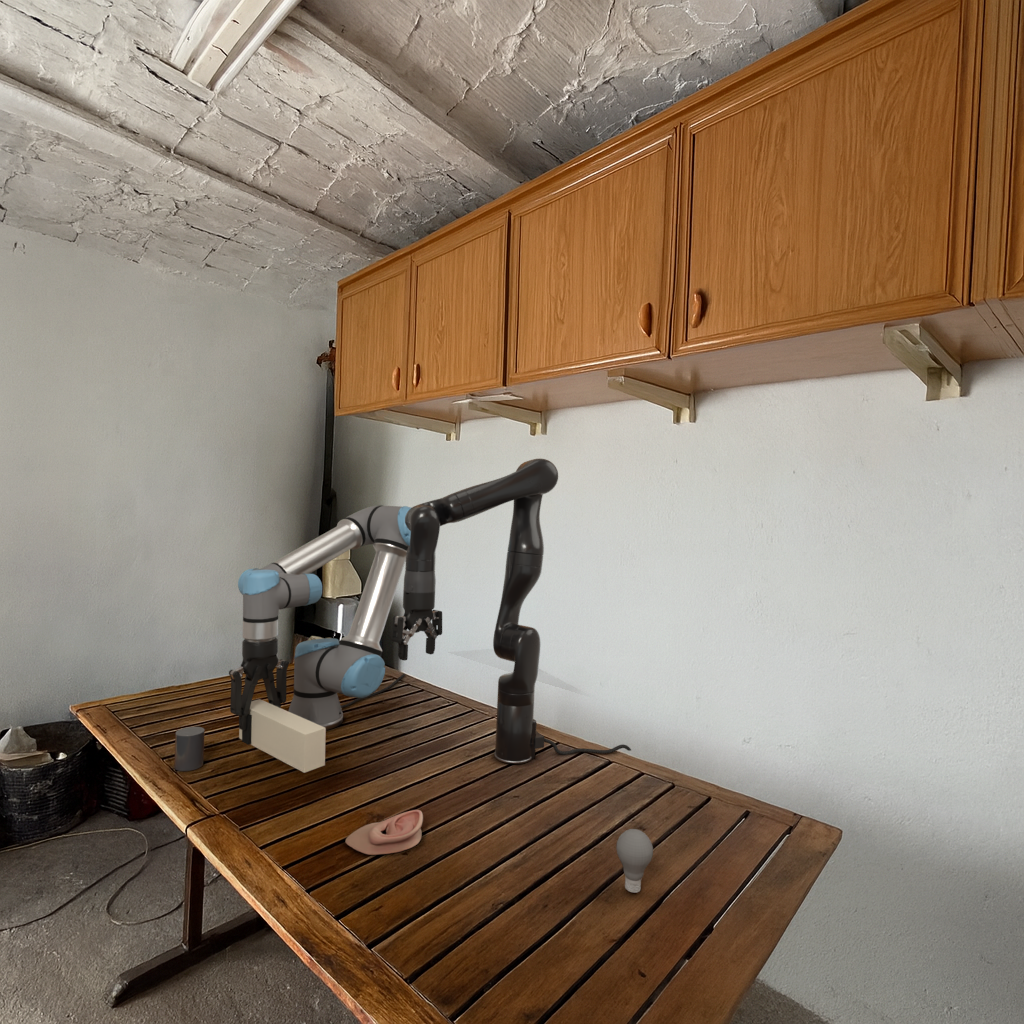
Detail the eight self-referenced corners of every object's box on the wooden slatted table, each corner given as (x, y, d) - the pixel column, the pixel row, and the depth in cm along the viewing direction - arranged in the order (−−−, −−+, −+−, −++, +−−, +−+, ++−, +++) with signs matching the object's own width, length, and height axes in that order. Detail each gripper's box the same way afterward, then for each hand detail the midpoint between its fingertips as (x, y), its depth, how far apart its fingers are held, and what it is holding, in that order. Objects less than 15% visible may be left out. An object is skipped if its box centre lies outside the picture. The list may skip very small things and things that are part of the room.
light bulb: (610, 879, 108) (613, 822, 108) (644, 879, 109) (647, 822, 109) (619, 902, 102) (622, 840, 102) (655, 901, 103) (658, 840, 103)
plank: (239, 738, 146) (239, 704, 145) (259, 732, 150) (259, 698, 149) (304, 773, 129) (304, 734, 129) (325, 765, 133) (325, 727, 133)
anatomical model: (338, 827, 114) (365, 799, 125) (337, 849, 114) (364, 818, 125) (408, 839, 111) (429, 808, 122) (407, 861, 111) (428, 828, 122)
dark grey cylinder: (196, 758, 150) (197, 724, 150) (208, 765, 146) (209, 731, 146) (169, 765, 145) (170, 731, 145) (181, 773, 142) (182, 738, 142)
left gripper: (286, 629, 154) (285, 724, 155) (212, 642, 140) (211, 746, 140) (304, 634, 149) (302, 732, 150) (230, 648, 135) (228, 755, 136)
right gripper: (430, 584, 159) (427, 649, 159) (385, 589, 148) (383, 658, 148) (451, 588, 154) (448, 654, 154) (407, 593, 143) (404, 665, 143)
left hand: (258, 738), depth 145 cm, fingers closed on plank, 5 cm apart
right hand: (416, 656), depth 151 cm, fingers open, 8 cm apart
